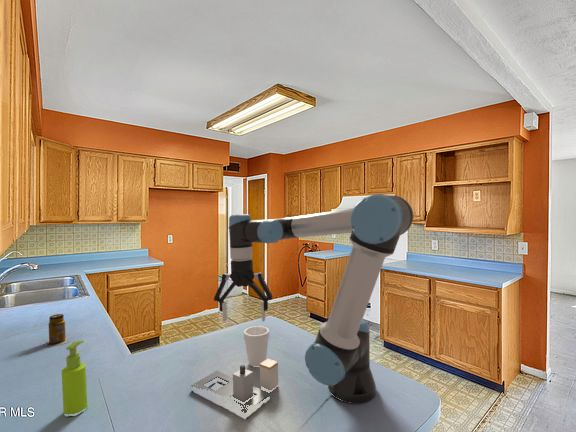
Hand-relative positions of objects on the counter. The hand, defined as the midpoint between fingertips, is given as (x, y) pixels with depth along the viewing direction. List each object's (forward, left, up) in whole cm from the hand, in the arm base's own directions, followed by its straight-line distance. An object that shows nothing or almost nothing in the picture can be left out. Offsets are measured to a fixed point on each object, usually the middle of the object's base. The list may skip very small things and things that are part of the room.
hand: (244, 320), depth 108 cm
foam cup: (+3, -9, -21) cm, 23 cm away
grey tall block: (-9, +11, -20) cm, 24 cm away
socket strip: (-3, +11, -21) cm, 23 cm away
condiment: (+93, +26, -21) cm, 99 cm away
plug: (-11, +1, -21) cm, 23 cm away
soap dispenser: (+31, +41, -21) cm, 55 cm away
